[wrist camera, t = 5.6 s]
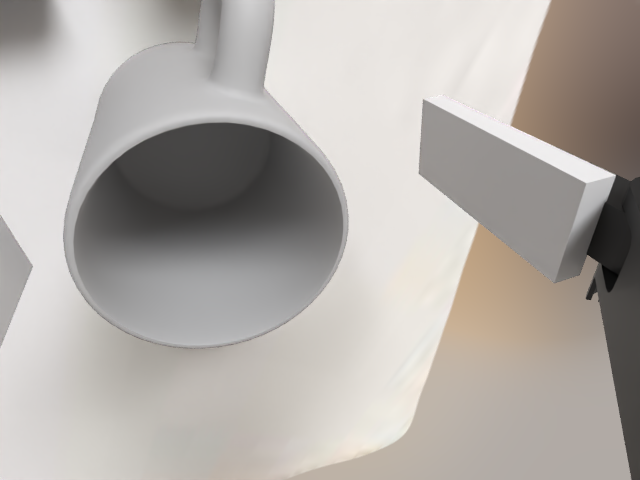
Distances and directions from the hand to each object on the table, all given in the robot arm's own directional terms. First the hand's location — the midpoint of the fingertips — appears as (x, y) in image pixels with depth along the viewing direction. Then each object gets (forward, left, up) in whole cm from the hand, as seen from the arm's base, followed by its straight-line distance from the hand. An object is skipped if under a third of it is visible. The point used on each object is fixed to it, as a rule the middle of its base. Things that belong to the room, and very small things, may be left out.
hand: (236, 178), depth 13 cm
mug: (0, 0, -10) cm, 10 cm away
